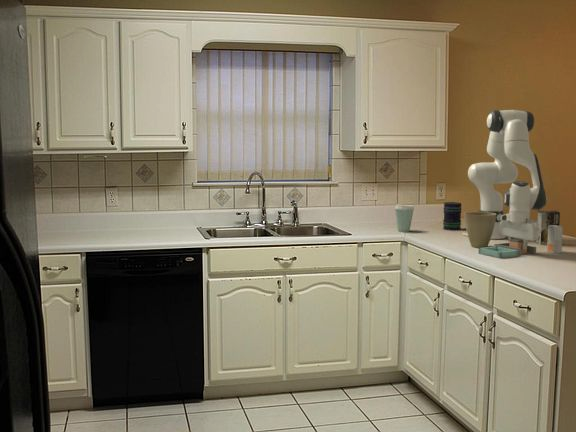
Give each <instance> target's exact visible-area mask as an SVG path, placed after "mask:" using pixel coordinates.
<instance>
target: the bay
mask: <svg viewBox="0 0 576 432" xmlns="http://www.w3.org/2000/svg"><path fill="white" fill-rule="evenodd" d="M495 246H498V247H503V248H508V249H513V250H518V251H519V255H518V256H517V257H519V256H521V254H520V251H521V249H519V248H514V247H509V242H504V243H503V242H502V243H494V244H493V247H495ZM527 253H528V254H533V255H535V254H537V247H536V246H533V245H528V244H527ZM527 253H526V254H527Z"/></svg>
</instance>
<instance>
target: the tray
mask: <svg viewBox="0 0 576 432" xmlns="http://www.w3.org/2000/svg"><path fill="white" fill-rule="evenodd" d="M478 254H479V255H482V256H483V255H484V256H489V257H492V258H496V259H497V258H498V259H505V258H513V257H514V258H515V257H519V256H518V255H519V251H518V250H513V249H508V248H503V247H498V246H495V247H494V246H487V247H485V248H478Z"/></svg>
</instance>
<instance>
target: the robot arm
mask: <svg viewBox="0 0 576 432" xmlns="http://www.w3.org/2000/svg"><path fill="white" fill-rule="evenodd" d="M534 124H535V116H534V114H533V113H532V112H531V111H528V110H517V109H504V110H499V109H497V110H496V109H495V110H491V111H490V112H489V113H488V115H487V117H486V127H487V129H488V130H489V131H490V132H489V137H488V142H487V145H486V152H487V154H488V155H489V156H490V157H492V158H493V159H494V161H493V162H488V161H487V162H486V161H485V162H483V161H482V162H475V163H473V164H471V165H470V166H469V168H468V170H467V177H468V179H469V181H470V182H471V183H473V184H474V185H475V187H476V188H477V190H478V192H479V197H480V209H479V210H477V211H476V212H489V213H495V214H496V220H495V225H494V229H493V233H492V236H491V239H490V240H501V239H505V238H506V237H507V238H508V240H509V239H517V238H518V239H523V242H524V243H523V245H521V249H526V245H528V244H529V243H530V241H531V242H536V241H537V240H538V238H539V232H538V223H537V220H535V219H531V218H530V217H531V210H536V211H541V209H543V208H544V207H545V206H546V204H547V198H548V197H547V194H546V191H545V187H544V182H543V176H542V171H541V168H540V163H539V159H538V157H537V154H535V153H533V151H532V149H531V146H530V135H529V133H530V132H531V131H532V130H533V128H534V126H535V125H534ZM514 163H515V164H514ZM516 164H518V165H521V166H523V167H525V168H527V169H528V170H529V172H530V176H531V182H532V187H531V185H530V183H529V182H527V181H520V180H519V181H518V180H517V178H518V176H519V170H518V169H519V168H517V166H516ZM516 180H517V181H516ZM509 183H511V186H510V187H509V188H507V189H506V190H505V191H504V192H503V193H504V197H503V194H502V193H501V192H500V191H498V190H495V188H494V184H495V185H497V184H500V185H501V184H505V185H506V184H509ZM504 205H505V206H506V207H507V208H508V209H509V210H508V213H506V214H504V210H503V209H504ZM462 235H463V236H467V237H468V234H467V231H465V232H464V231H463V232H462Z"/></svg>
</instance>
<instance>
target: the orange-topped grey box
mask: <svg viewBox="0 0 576 432" xmlns="http://www.w3.org/2000/svg"><path fill="white" fill-rule="evenodd" d="M508 243H509V247H514V248H519V249H521V245H523V243H524V242H523V239H518V238H514V239H508ZM527 245H528V244H527ZM527 245H526V249H521V251H520V255H522V254H527Z"/></svg>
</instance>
